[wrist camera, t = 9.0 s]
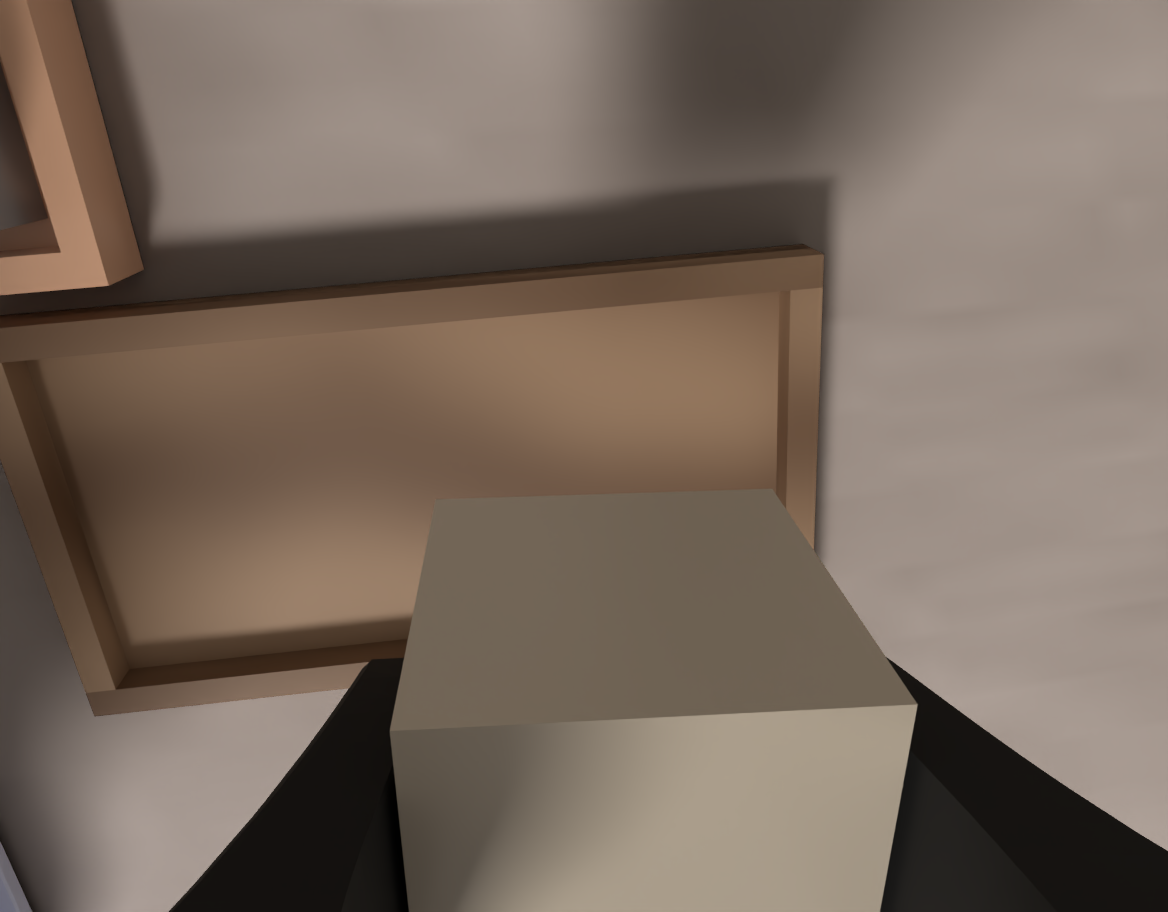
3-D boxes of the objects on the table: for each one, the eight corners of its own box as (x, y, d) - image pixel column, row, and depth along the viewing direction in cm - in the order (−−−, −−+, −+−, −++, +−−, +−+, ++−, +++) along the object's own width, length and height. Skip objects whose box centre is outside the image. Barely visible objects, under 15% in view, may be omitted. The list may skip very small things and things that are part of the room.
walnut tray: (794, 606, 20) (810, 636, 19) (118, 680, 19) (94, 716, 18) (803, 244, 16) (823, 254, 15) (-8, 315, 16) (-47, 332, 15)
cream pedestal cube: (747, 753, 12) (855, 1049, 8) (454, 769, 11) (428, 1084, 8) (771, 488, 10) (918, 704, 7) (435, 499, 10) (390, 731, 6)
